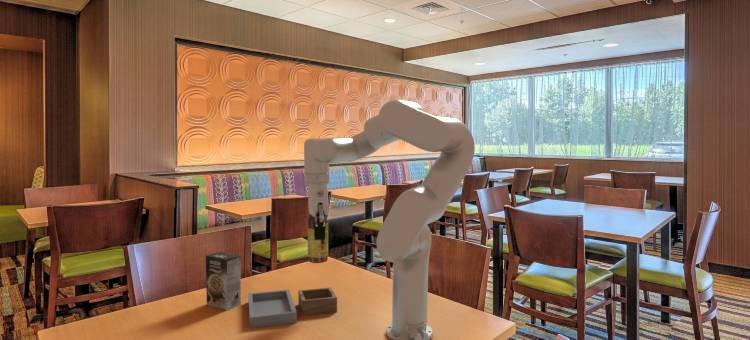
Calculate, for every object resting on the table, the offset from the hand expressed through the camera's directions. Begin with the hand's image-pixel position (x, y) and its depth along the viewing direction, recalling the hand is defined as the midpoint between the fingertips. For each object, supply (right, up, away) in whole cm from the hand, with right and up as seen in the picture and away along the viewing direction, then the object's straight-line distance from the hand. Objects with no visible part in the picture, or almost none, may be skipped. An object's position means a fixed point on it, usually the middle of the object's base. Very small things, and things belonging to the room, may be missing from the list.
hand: (317, 236), depth 135 cm
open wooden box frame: (0, -23, +2) cm, 23 cm away
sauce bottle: (0, -8, +1) cm, 8 cm away
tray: (-14, -23, -1) cm, 27 cm away
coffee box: (-30, -23, +4) cm, 38 cm away
